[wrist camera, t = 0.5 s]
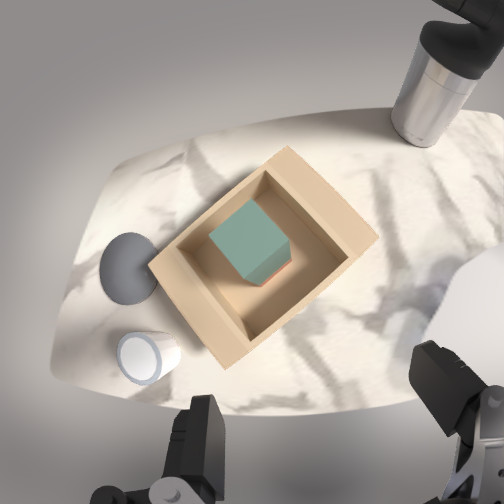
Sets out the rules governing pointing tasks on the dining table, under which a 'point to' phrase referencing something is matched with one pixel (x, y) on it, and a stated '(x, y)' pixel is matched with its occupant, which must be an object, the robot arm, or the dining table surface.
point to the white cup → (147, 356)
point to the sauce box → (253, 244)
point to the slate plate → (128, 269)
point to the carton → (283, 283)
